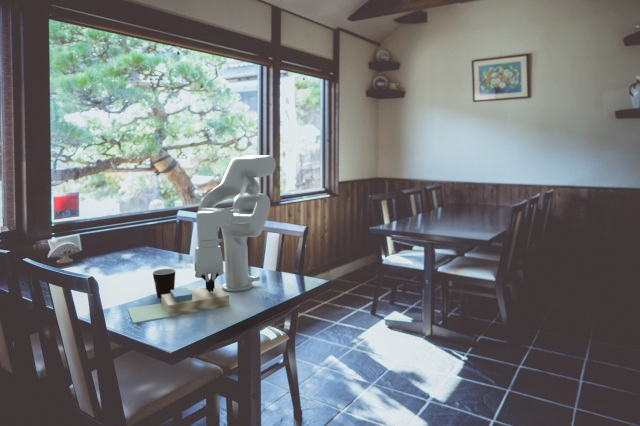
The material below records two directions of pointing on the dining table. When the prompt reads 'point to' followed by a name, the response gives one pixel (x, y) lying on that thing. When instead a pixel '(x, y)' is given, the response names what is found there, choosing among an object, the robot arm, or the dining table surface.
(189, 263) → the dining table surface
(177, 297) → the blue rectangular block
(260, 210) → the robot arm
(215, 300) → the beige wood-grain panel
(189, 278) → the dining table surface
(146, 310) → the mat
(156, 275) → the coffee mug
